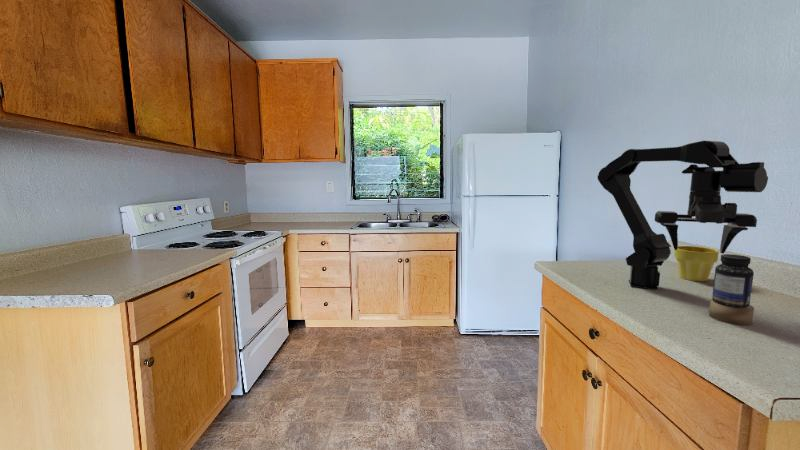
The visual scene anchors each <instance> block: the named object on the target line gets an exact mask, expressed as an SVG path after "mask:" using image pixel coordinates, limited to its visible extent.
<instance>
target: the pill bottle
mask: <svg viewBox="0 0 800 450" xmlns="http://www.w3.org/2000/svg"><path fill="white" fill-rule="evenodd" d="M720 262H721V263H720V264H718V265H717V266H715V270H714V279H713V286H712V287H713V288H712V296H711V297H712V298H711V299H712V300H713V301H714V302H716V303H718V304H721V305H725V306H729V307H736V308H745V307H748V306H749V305H751V298H752V290H753V283H754V282H753V280H754V274H755V273H754V270H753V269H752V268H750V267H749V265H750V264H751V257H750V256H747V255H746V256H745V255H741V254H731V253H730V254H728V253H727V254H726V253H725V254H724V253H722V254H721V255H720Z"/></svg>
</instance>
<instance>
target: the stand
mask: <svg viewBox="0 0 800 450" xmlns="http://www.w3.org/2000/svg"><path fill="white" fill-rule="evenodd" d="M754 311H755V307H754V306H753V305H751V304H750V305H749V306H748V307H745V308H736V307H729V306H725V305H721V304H718V303H716V302H714V301H713V300H712V298H711V299H710V304H709V313H708V315H709V317H710V318H712V319H714V320H717V321H719V322H722V323H726V324H731V325H735V326H736V325H738V326H750V325H753V319H754Z"/></svg>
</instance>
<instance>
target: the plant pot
mask: <svg viewBox="0 0 800 450" xmlns="http://www.w3.org/2000/svg"><path fill="white" fill-rule="evenodd" d="M719 252H720V251H719V250H717V249H715V248H710V247H705V246H697V245H695V246H694V245H678V247H677V250H675V249H674V258H676V262H677V263H676V264H677V268H678V275H679V277H680V278H681V279H684V280H687V281H692V282H706V281H708V279H709V277H710V274H711V271H712V269H713V268H714V264H715V263H717V262H718V259H719Z"/></svg>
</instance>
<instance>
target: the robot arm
mask: <svg viewBox="0 0 800 450" xmlns="http://www.w3.org/2000/svg"><path fill="white" fill-rule="evenodd" d="M642 162H644V163H645V162H681V163H682V162H683V163H688V164H689V163H690V164H689V166H688V167H686V168H684V169H683V170H682V171H681V173H682V174H683V175H685V174H687V175H688V174H691V178H690V179H691V180H690V188H689V190H690V191H689V195H688V209H687V214H681V213H680V214H678V212H675V211H671V210H670V211H666V210H665V211H664V210H658V211H657V212H655V213H654V214H655V215H654V221H655V222H656V223H657V224H660V225H661V226H662V227H665V229H666V230H667V232H668V234H669V238H670V241H671V243H672V245H671V244H670V243H669V242H668V240H667V237H666V235H665V234H664V233H656V232H655V231H653V229H652V227H651V226H650V224H649V222H648V220H647V218H646V217H645V214H644V213H643V211H642V209H641V207H640V205H639V203H638V201H637V200H636V198H635V195H634V194H633V192H632V189H631V177H630V175H632V174H633V173H634V172H635V171H636V169H637V167H638V166H639V165H640V163H642ZM699 165H706V166H699ZM715 168H716V169H717V168H719V169H721V168H722V170H716V169H715ZM596 177H597V181H598V183H600V185H601V187H602V188H603V189H604V190H606V191H607V192H608V193H609V194H611V196H613V199H614V200H615V203H616V204H617V207H618V208H619V210H620V212H621V214H622V217H623V218H624V220H625V222H626V224H627V227H628V228H629V230H630V233H631V234H632V236H633V238H632V239H633V242H632V247H633V250H634V252H633V253H631V254H630V255H628V256H627V257H625V261H626V265H627V266H630V271H629V272H630V273H629V279H628V282H629V286H630V287H635V288H643V289H649V290H650V289H651V290H658V289H659V288H658V287H659V286H660V281H661V280H660V278H661V272H660V271H659V266H660V267H661V266H662V265H663V263H664V262H665V261H667V260H668V259H669V257H670V255H671V254H672V253H671V248H672V246H673V248H674V251H675V250H677V247H678V246H679V239H678V234H679V233H678V230H679V229H678V228H679V224H676V223H677V222H689V223H690V222H694V223H701V224H706V223H713V224H714V223H715V224H723V228H722V234H721V240H720V246H719V247H720V248H719V250H720V251H719V252H720V254H724V253H725V252H726V251H727V249H728V247H729V246H730V244H731V243H732V241H733V240H734V238H735V237H736V236H737V235H738V234H740V233H741V232H742V231H748V230H749V228H757V223H758V220H757V216H755V214H750V213H740V212H739V213H738V204H737V203H736V202H725V203H723V204H722V201H721V200H722V196H721V190H722V188H723V189H724V191H725V192H727V193H729V192H730V193H762V192H763V191H764V190H766V189H765V188H766V187H767V185H768V181H769V176H768V174H767V170H766V168H765V162H764V161H762V162H761V161H757V162H756V161H754V162H747V163H739V161H737V160H736V159H735V157H734V156H733V155H732V154H731V153H730V148H729V145H728V144H727V143H726V142H724V141H719V140H718V141H717V140H701V141H696V142H691V143H690V142H689V143H688V144H684V145H680V146H673V147H655V148H654V147H653V148H630V149H626V150H625V151H624V152H623V153H622V154H621V155H619V156H618V157H616V158H615V159H613V160H612V161H610V162H609V163H608V164H607V165H606V166H603V168H601V169H600V170H599V172H598V175H597V176H596ZM748 227H749V228H748ZM670 247H671V248H670Z"/></svg>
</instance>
